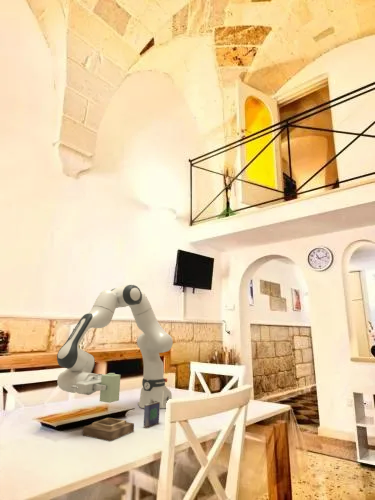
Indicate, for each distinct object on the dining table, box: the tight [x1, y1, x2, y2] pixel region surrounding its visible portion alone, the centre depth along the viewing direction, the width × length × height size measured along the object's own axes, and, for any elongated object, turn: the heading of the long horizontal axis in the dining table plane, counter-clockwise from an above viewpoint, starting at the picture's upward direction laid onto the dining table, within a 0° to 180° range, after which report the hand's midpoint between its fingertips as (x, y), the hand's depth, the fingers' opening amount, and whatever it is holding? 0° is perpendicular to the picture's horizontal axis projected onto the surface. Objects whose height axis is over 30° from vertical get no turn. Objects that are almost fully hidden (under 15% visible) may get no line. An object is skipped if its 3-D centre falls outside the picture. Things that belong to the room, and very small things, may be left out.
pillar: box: [99, 372, 121, 404], centre depth 136 cm, size 6×6×11 cm
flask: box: [143, 398, 160, 429], centre depth 143 cm, size 9×3×11 cm, turn 146°
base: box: [82, 417, 135, 442], centre depth 131 cm, size 14×14×4 cm
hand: (112, 386), depth 135 cm, fingers closed on pillar, 5 cm apart
